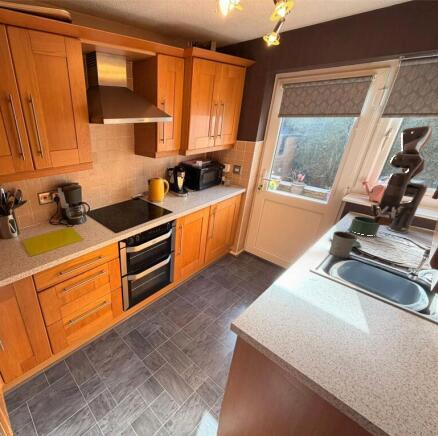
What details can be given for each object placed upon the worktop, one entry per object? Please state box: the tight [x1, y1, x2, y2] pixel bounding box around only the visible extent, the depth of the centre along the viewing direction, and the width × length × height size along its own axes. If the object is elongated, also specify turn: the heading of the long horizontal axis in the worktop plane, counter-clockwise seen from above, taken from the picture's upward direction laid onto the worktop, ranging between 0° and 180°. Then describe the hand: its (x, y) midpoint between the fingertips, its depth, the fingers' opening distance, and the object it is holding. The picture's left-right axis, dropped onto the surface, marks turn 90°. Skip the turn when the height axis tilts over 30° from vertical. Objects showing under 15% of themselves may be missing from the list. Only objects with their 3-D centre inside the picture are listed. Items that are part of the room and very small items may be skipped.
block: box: [377, 214, 392, 227], centre depth 126 cm, size 5×5×5 cm
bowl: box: [329, 231, 361, 248], centre depth 142 cm, size 15×15×7 cm
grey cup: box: [329, 230, 358, 259], centre depth 128 cm, size 10×10×12 cm
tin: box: [348, 215, 381, 238], centre depth 155 cm, size 14×14×10 cm
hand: (381, 223), depth 127 cm, fingers closed on block, 4 cm apart
